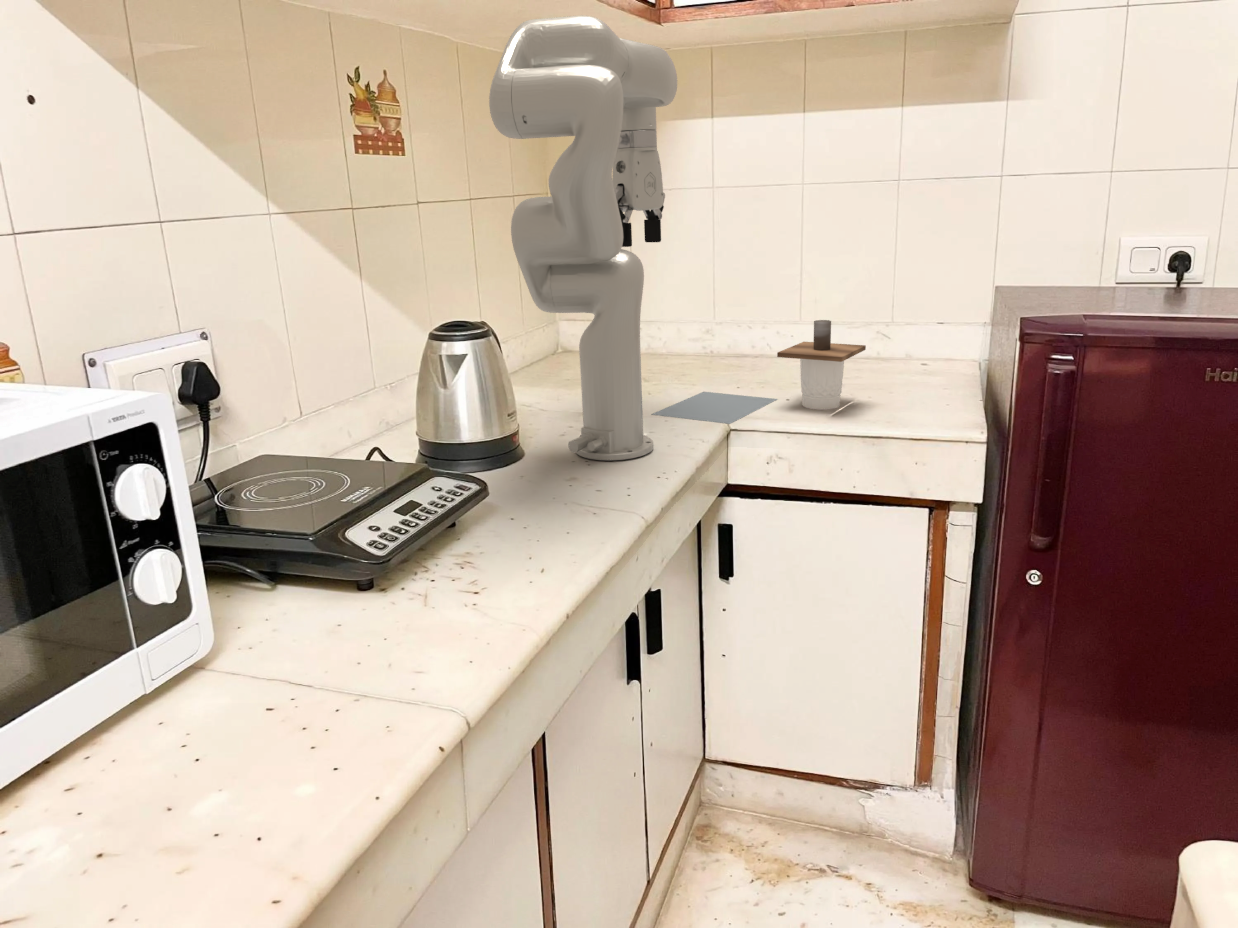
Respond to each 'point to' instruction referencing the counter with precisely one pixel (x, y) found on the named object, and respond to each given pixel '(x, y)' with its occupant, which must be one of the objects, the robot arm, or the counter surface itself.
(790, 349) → the walnut cover
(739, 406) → the rubber mat
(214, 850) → the counter surface
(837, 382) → the white cup
